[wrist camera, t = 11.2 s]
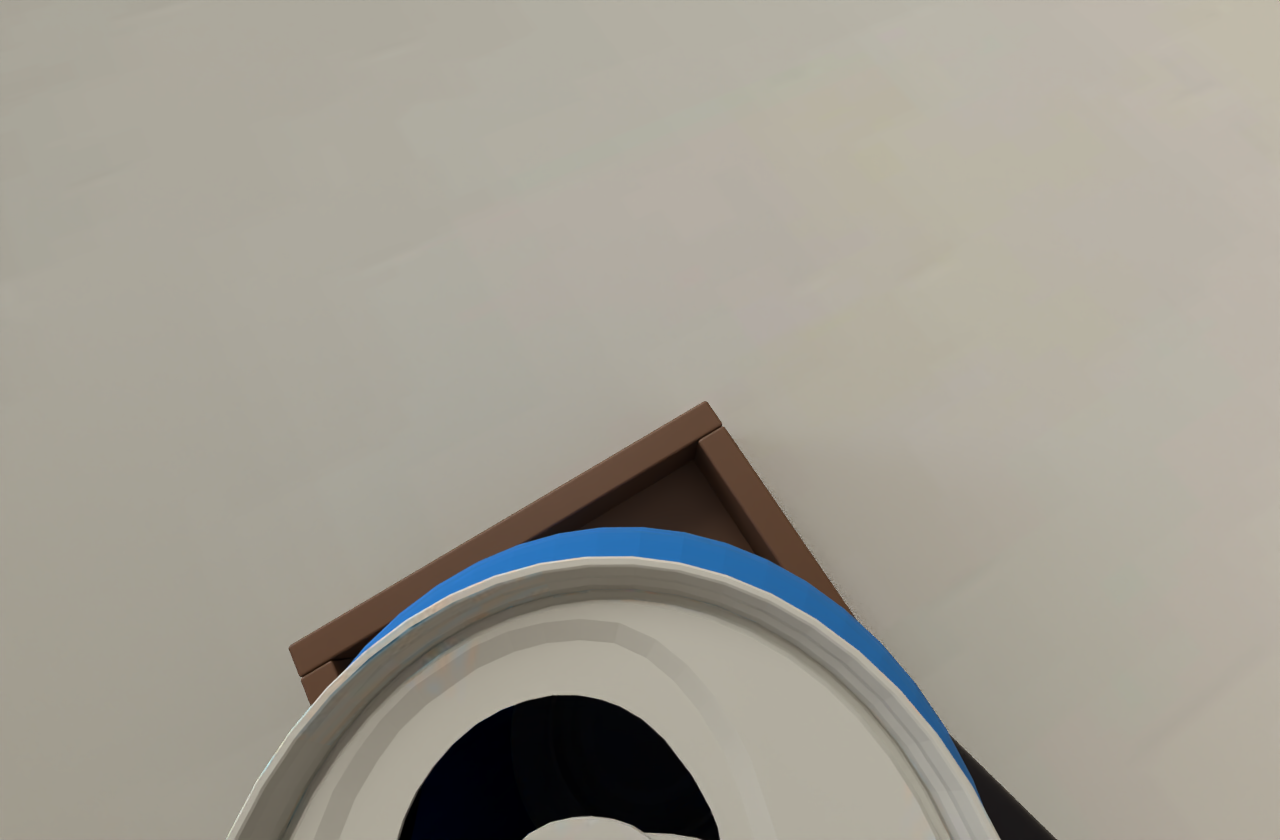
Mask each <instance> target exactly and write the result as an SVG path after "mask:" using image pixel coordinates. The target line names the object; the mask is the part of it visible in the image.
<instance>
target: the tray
mask: <svg viewBox="0 0 1280 840" xmlns="http://www.w3.org/2000/svg"><path fill="white" fill-rule="evenodd" d="M601 527H646V528H654V529H662V530H671V531H679V532H686V533H690V534H693V535H697V536H701V537H705V538H709V539H713V540H717V541H721V542H724V543H728V544H730V545H733V546H735V547H737V548H740V549H742V550H745V551H747V552H750V553H752V554H755V555H757V556H760V557H762V558H765V559H767V560H769V561H771V562H773V563H774V564H776V565H778V566H780V567H782V568H783V569H785V570H787V571H789V572H791V573H792V574H794V575H796V576H798V577H800V578H801V579H803V580H805V581H807V582H808V583H809V584H811V585H812V586H814V587H815V588H816V589H818V590H819V591H820V592H822V593H823V594H825V595H826V596H827V597H829V598H830V599H831V600H833V601H834V602H836V603H837V604H838V605H840V606H841V607H842V608H844V609H845V610H846V611H847V612H848V613H849V614H850V615H851V616H852V617H854V615H853V614H852V612H851V611H850V609H849V608H848V607H847V605H846V604H845V602H844V601H843V599H842V598H841V596H840V595H839V593H838V592H837V590H836V589H835V588H834V586H833V585H832V583H831V582H830V580H829V579H828V577H827V576H826V574H825V573H824V572H823V570H822V569H821V567H820V566H819V564H818V563H817V561H816V560H815V558H814V557H813V555H812V554H811V553H810V551H809V550H808V548H807V547H806V545H805V544H804V542H803V541H802V539H801V538H800V536H799V535H798V534H797V532H796V531H795V529H794V528H793V526H792V525H791V523H790V522H789V520H788V519H787V518H786V516H785V515H784V513H783V512H782V510H781V509H780V507H779V506H778V504H777V503H776V501H775V500H774V499H773V497H772V496H771V494H770V493H769V491H768V490H767V488H766V487H765V485H764V484H763V482H762V481H761V480H760V478H759V477H758V475H757V474H756V472H755V471H754V469H753V468H752V466H751V465H750V464H749V462H748V461H747V459H746V458H745V456H744V455H743V453H742V452H741V450H740V449H739V447H738V446H737V445H736V443H735V442H734V440H733V439H732V437H731V436H730V434H729V433H728V431H727V430H726V429H725V427H722V423H721V421H720V420H719V418H718V417H717V415H716V414H715V412H714V411H713V409H712V408H711V407H710V405H709V404H708V402H706V401H704V402H702V403H701V404H699V405H697V406H696V407H694V408H692V409H690V410H689V411H687V412H685V413H684V414H682V415H680V416H679V417H677V418H675V419H673V420H672V421H670V422H668V423H667V424H665V425H663V426H662V427H660V428H658V429H657V430H655V431H653V432H651V433H650V434H648V435H646V436H645V437H643V438H641V439H640V440H638V441H636V442H634V443H633V444H631V445H629V446H628V447H626V448H624V449H623V450H621V451H619V452H617V453H616V454H614V455H612V456H611V457H609V458H607V459H606V460H604V461H602V462H601V463H599V464H597V465H595V466H594V467H592V468H590V469H589V470H587V471H585V472H584V473H582V474H580V475H578V476H577V477H575V478H573V479H572V480H570V481H568V482H567V483H565V484H563V485H562V486H560V487H558V488H556V489H555V490H553V491H551V492H550V493H548V494H546V495H545V496H543V497H541V498H539V499H538V500H536V501H534V502H533V503H531V504H529V505H528V506H526V507H524V508H522V509H521V510H519V511H517V512H516V513H514V514H512V515H511V516H509V517H507V518H506V519H504V520H502V521H500V522H499V523H497V524H495V525H494V526H492V527H490V528H489V529H487V530H485V531H483V532H482V533H480V534H478V535H477V536H475V537H473V538H472V539H470V540H468V541H467V542H465V543H463V544H461V545H460V546H458V547H456V548H455V549H453V550H451V551H450V552H448V553H446V554H444V555H443V556H441V557H439V558H438V559H436V560H434V561H433V562H431V563H429V564H428V565H426V566H424V567H422V568H421V569H419V570H417V571H416V572H414V573H412V574H411V575H409V576H407V577H405V578H404V579H402V580H400V581H399V582H397V583H395V584H394V585H392V586H390V587H388V588H387V589H385V590H383V591H382V592H380V593H378V594H377V595H375V596H373V597H372V598H370V599H368V600H366V601H365V602H363V603H361V604H360V605H358V606H356V607H355V608H353V609H351V610H349V611H348V612H346V613H344V614H343V615H341V616H339V617H338V618H336V619H334V620H333V621H331V622H329V623H327V624H326V625H324V626H322V627H321V628H319V629H317V630H316V631H314V632H312V633H310V634H309V635H307V636H305V637H304V638H302V639H300V640H299V641H297V642H295V643H293V644H292V645H290V647H289V651H290V653H291V656H292V658H293V661H294V664H295V666H296V669H297V671H298V674H299V676H300V677H302V679H301V682H302V684H303V687H304V690H305V692H306V695H307V697H308V700H309V703H310V705H312V704H313V703H314V702H315V701H316V700H317V698H318V697H319V696H320V695H321V694H322V692H323V691H324V690H325V689H326V688H327V687H328V686H329V685H330V684H331V683H332V682H333V681H334V680H335V679H336V678H337V677H338V676H339V675H340V674H341V673H342V672H343V671H345V669H346V668H347V667H348V666H349V665H350V664H351V662H352V661H353V660H354V659H355V658H356V656H357V655H358V654H359V653H360V652H361V650H362V649H363V648H364V647H365V646H366V645H367V644H368V643H369V642H370V641H371V640H372V639H373V638H374V637H375V636H376V635H377V634H378V633H380V632H381V631H382V630H383V629H384V628H385V627H386V626H387V625H388V624H389V623H390V622H391V621H392V620H393V619H394V618H395V617H396V616H397V615H398V614H400V613H401V612H402V611H403V610H405V609H406V608H407V607H409V606H410V605H411V604H413V603H414V602H415V601H417V600H418V599H419V598H421V597H422V596H423V595H425V594H426V593H427V592H429V591H430V590H431V589H433V588H434V587H435V586H437V585H438V584H440V583H442V582H444V581H445V580H447V579H449V578H451V577H452V576H454V575H456V574H457V573H459V572H461V571H463V570H464V569H466V568H468V567H470V566H471V565H473V564H475V563H477V562H478V561H481V560H483V559H485V558H488V557H490V556H493V555H495V554H497V553H500V552H502V551H505V550H507V549H509V548H512V547H514V546H516V545H519V544H523V543H526V542H530V541H533V540H537V539H541V538H544V537H548V536H552V535H555V534H559V533H565V532H572V531H579V530H587V529H594V528H601ZM854 618H855V617H854ZM855 619H856V618H855Z"/></svg>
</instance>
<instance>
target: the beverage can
mask: <svg viewBox="0 0 1280 840" xmlns="http://www.w3.org/2000/svg"><path fill="white" fill-rule="evenodd" d="M421 786H422V790H421V795H420V800H419V805H418V810H417V815H416V820H415V824H414V829H413V833H412V837H411V840H1001V839H1000V838H999V836H998V834H997V832H996V830H995V828H994V826H993V824H992V822H991V820H990V819H989V817H988V815H987V813H986V811H985V809H984V806H983V804H982V801H981V799H980V796H979V794H978V791H977V789H976V786H975V784H974V781H973V779H972V777H971V775H970V773H969V771H968V769H967V767H966V765H965V763H964V762H963V760H962V758H961V756H960V754H959V752H958V750H957V748H956V746H955V744H954V743H953V741H952V739H951V737H950V735H949V733H948V731H947V729H946V728H945V726H944V725H943V723H942V722H941V720H940V719H939V717H938V716H937V714H936V713H935V711H934V710H933V708H932V707H931V706H930V704H929V703H928V701H927V700H926V698H925V697H924V695H923V694H922V692H921V691H920V689H919V688H918V686H917V685H916V683H915V682H914V681H913V680H912V679H911V678H910V676H909V675H908V674H907V673H906V672H905V671H904V669H903V668H902V667H901V666H900V665H899V664H898V662H897V661H896V660H895V659H894V658H893V657H892V655H891V654H890V653H889V652H888V651H887V650H886V648H885V647H884V646H883V645H882V644H881V643H880V642H879V641H878V640H877V639H876V638H875V637H874V636H873V635H872V634H871V633H870V632H869V631H868V630H866V629H865V628H864V627H863V626H862V625H861V624H860V623H859V622H858V621H857V620H856V619H855V618H854V617H852V616H851V615H850V614H849V613H848V612H847V611H846V610H845V609H844V608H842V607H841V606H840V605H838V604H837V603H836V602H834V601H833V600H831V599H830V598H829V597H827V596H826V595H825V594H823V593H822V592H820V591H819V590H818V589H816V588H815V587H814V586H812V585H811V584H809V583H808V582H807V581H805V580H803V579H801V578H800V577H798V576H796V575H794V574H792V573H791V572H789V571H787V570H785V569H783V568H782V567H780V566H778V565H776V564H774V563H773V562H771V561H769V560H767V559H765V558H762V557H760V556H757V555H755V554H752V553H750V552H747V551H745V550H742V549H740V548H737V547H735V546H733V545H730V544H728V543H724V542H721V541H717V540H713V539H709V538H705V537H701V536H697V535H693V534H690V533H686V532H679V531H671V530H662V529H654V528H646V527H601V528H594V529H587V530H579V531H572V532H565V533H559V534H555V535H552V536H548V537H544V538H541V539H537V540H533V541H530V542H526V543H523V544H519V545H516V546H514V547H512V548H509V549H507V550H505V551H502V552H500V553H497V554H495V555H493V556H490V557H488V558H485V559H483V560H481V561H478V562H477V563H475V564H473V565H471V566H470V567H468V568H466V569H464V570H463V571H461V572H459V573H457V574H456V575H454V576H452V577H451V578H449V579H447V580H445V581H444V582H442V583H440V584H438V585H437V586H435V587H434V588H433V589H431V590H430V591H429V592H427V593H426V594H425V595H423V596H422V597H421V598H419V599H418V600H417V601H415V602H414V603H413V604H411V605H410V606H409V607H407V608H406V609H405V610H403V611H402V612H401V613H400V614H398V615H397V616H396V617H395V618H394V619H393V620H392V621H391V622H390V623H389V624H388V625H387V626H386V627H385V628H384V629H383V630H382V631H381V632H380V633H378V634H377V635H376V636H375V637H374V638H373V639H372V640H371V641H370V642H369V643H368V644H367V645H366V646H365V647H364V648H363V649H362V650H361V652H360V653H359V654H358V655H357V656H356V658H355V659H354V660H353V661H352V662H351V664H350V665H349V666H348V667H347V668H346V669H345V671H343V672H342V673H341V674H340V675H339V676H338V677H337V678H336V679H335V680H334V681H333V682H332V683H331V684H330V685H329V686H328V687H327V688H326V689H325V690H324V691H323V692H322V694H321V695H320V696H319V697H318V698H317V700H316V701H315V702H314V703H313V704H312V705H311V707H310V708H309V709H308V710H307V711H306V713H305V714H304V715H303V716H302V717H301V719H300V720H299V721H298V722H297V723H296V725H295V726H294V727H293V728H292V729H291V731H290V732H289V733H288V735H287V736H286V738H285V739H284V741H283V742H282V744H281V745H280V747H279V748H278V750H277V751H276V753H275V754H274V756H273V757H272V759H271V760H270V762H269V763H268V765H267V766H266V768H265V769H264V771H263V772H262V774H261V775H260V777H259V778H258V780H257V781H256V783H255V785H254V787H253V789H252V791H251V793H250V794H249V796H248V798H247V800H246V802H245V804H244V806H243V808H242V810H241V811H240V813H239V815H238V817H237V819H236V821H235V823H234V825H233V827H232V828H231V830H230V832H229V834H228V836H227V839H226V840H399V839H400V835H401V832H402V828H403V825H404V822H405V818H406V816H407V814H408V812H409V810H410V808H411V805H412V803H413V801H414V799H415V797H416V795H417V792H418V791H419V789H420V788H421Z"/></svg>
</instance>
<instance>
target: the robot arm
mask: <svg viewBox="0 0 1280 840" xmlns="http://www.w3.org/2000/svg"><path fill="white" fill-rule="evenodd" d="M949 735H950V734H949ZM950 737H951V739H952V741H953V743H954V744H955V746H956V748H957V750H958V752H959V754H960V756H961V758H962V760H963V762H964V763H965V765H966V767H967V769H968V771H969V773H970V775H971V777H972V779H973V781H974V784H975V786H976V789H977V791H978V794H979V796H980V799H981V801H982V804H983V806H984V809H985V811H986V813H987V815H988V817H989V819H990V820H991V822H992V824H993V826H994V828H995V830H996V832H997V834H998V836H999V838H1000V839H1001V840H1057V839H1056V838H1055V837H1054V836H1053V835H1052V834H1051V833H1050V832H1048V831H1047V830H1046V829H1045V828H1044V827H1043V826H1042V825H1041V824H1040V823H1039V822H1038V821H1037V820H1036V819H1035V818H1034V817H1033V816H1032V815H1031V814H1030V813H1029V812H1028V811H1027V810H1026V809H1025V808H1024V807H1023V806H1022V805H1021V804H1020V803H1019V802H1018V801H1017V800H1016V799H1015V798H1014V797H1013V796H1012V795H1011V794H1010V793H1009V792H1008V791H1007V790H1006V789H1005V788H1004V787H1003V786H1002V785H1001V784H1000V783H998V782H997V781H996V780H995V779H994V778H993V777H992V776H991V775H990V774H989V773H988V772H987V771H986V770H985V769H984V768H983V767H982V766H981V765H980V764H979V763H978V762H977V761H976V760H975V759H974V758H973V757H972V756H971V755H970V754H969V753H968V752H967V751H966V750H965V749H964V748H963V747H962V746H961V745H960V744H959V743H958V742H957V741H956V740H955V739H954V738H953V737H952V736H951V735H950ZM421 790H422V786H421V788H420V789H419V791H418V792H417V795H416V797H415V799H414V801H413V803H412V805H411V808H410V810H409V812H408V814H407V816H406V818H405V822H404V825H403V828H402V832H401V835H400V839H399V840H411V837H412V833H413V829H414V824H415V820H416V815H417V810H418V805H419V800H420V795H421Z"/></svg>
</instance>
